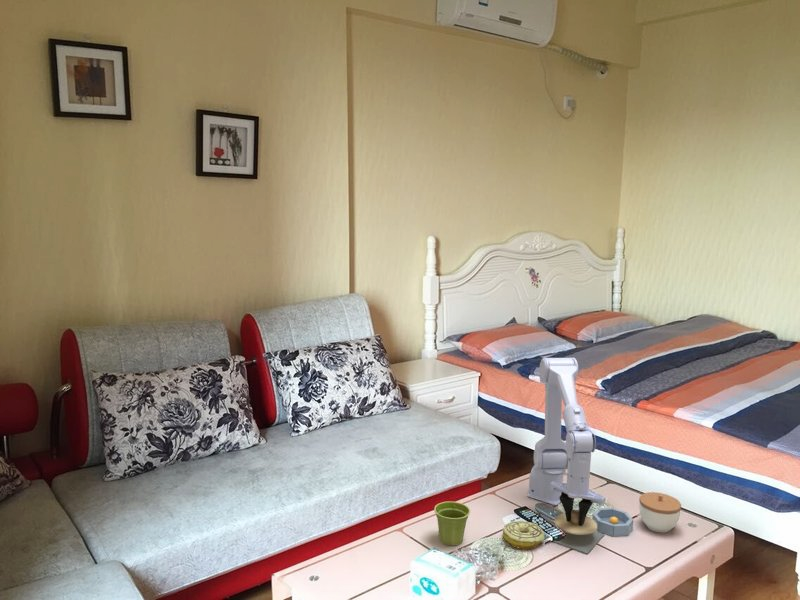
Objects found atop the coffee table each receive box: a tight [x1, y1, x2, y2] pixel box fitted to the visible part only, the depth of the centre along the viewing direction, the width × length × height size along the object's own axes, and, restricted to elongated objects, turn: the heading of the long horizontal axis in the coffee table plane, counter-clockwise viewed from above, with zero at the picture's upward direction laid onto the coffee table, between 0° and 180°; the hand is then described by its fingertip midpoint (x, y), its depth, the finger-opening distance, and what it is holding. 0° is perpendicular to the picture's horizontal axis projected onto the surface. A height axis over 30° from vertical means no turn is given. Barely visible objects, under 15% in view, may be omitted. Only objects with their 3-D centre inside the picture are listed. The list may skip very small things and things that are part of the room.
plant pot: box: [433, 501, 471, 546], centre depth 172 cm, size 9×9×9 cm
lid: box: [554, 509, 597, 535], centre depth 174 cm, size 11×11×4 cm
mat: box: [553, 530, 605, 555], centre depth 175 cm, size 12×12×1 cm
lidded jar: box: [638, 491, 682, 534], centre depth 180 cm, size 11×11×9 cm
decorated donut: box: [502, 520, 546, 550], centre depth 173 cm, size 10×11×4 cm
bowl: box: [591, 507, 634, 537], centre depth 180 cm, size 10×10×3 cm
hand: (575, 522), depth 174 cm, fingers closed on lid, 3 cm apart
